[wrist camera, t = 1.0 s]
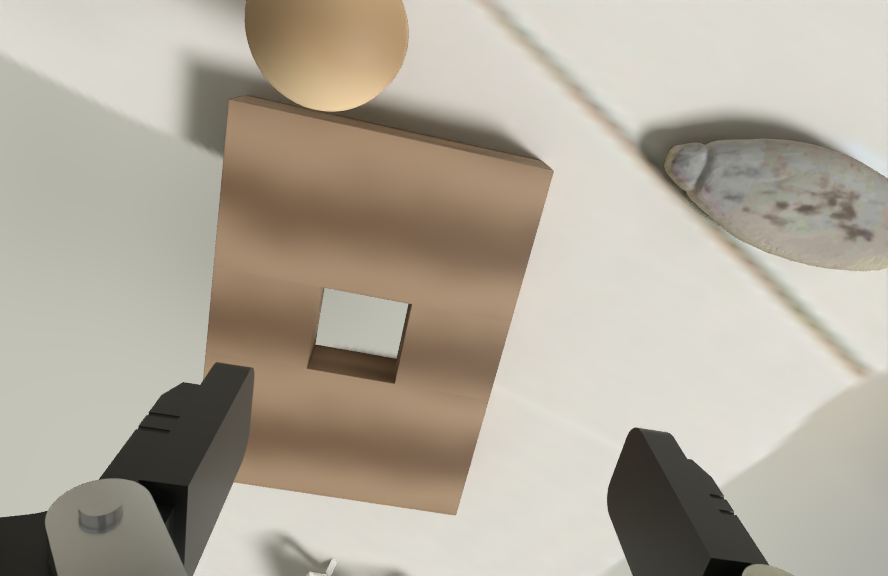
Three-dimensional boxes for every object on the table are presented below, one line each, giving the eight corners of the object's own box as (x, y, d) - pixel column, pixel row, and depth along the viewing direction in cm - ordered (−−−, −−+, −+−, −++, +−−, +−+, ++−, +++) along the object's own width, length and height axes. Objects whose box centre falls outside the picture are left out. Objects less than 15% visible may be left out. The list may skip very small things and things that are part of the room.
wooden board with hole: (245, 95, 31) (228, 99, 28) (542, 161, 33) (553, 170, 30) (210, 446, 39) (194, 476, 36) (453, 483, 41) (455, 515, 38)
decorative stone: (679, 102, 32) (707, 106, 29) (925, 182, 34) (976, 195, 31) (634, 209, 34) (656, 224, 31) (868, 278, 37) (911, 300, 33)
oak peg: (306, -39, 29) (253, -83, 20) (420, -11, 30) (421, -40, 20) (291, 81, 31) (237, 92, 22) (399, 105, 32) (390, 126, 22)
